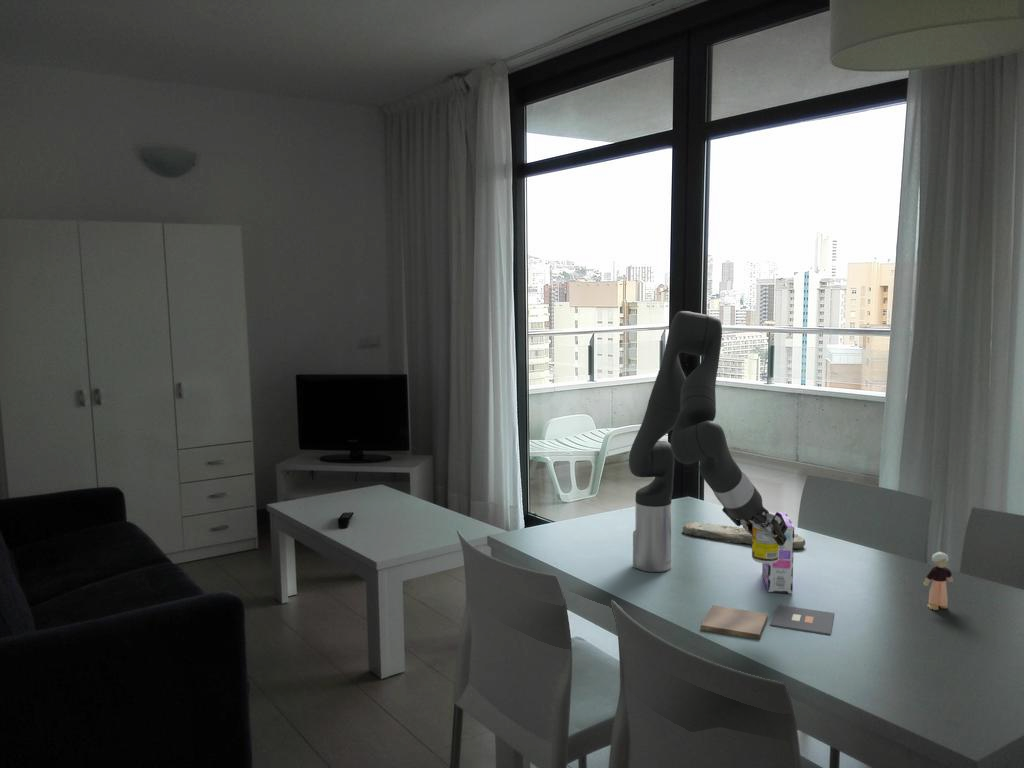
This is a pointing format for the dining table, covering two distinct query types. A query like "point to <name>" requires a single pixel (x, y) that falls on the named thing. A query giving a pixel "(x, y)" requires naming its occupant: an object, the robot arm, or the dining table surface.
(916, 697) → the dining table surface
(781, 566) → the candy box
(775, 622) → the tile
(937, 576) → the grandmother figurine
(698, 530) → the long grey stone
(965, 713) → the dining table surface
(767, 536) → the supplement bottle
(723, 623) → the walnut board
